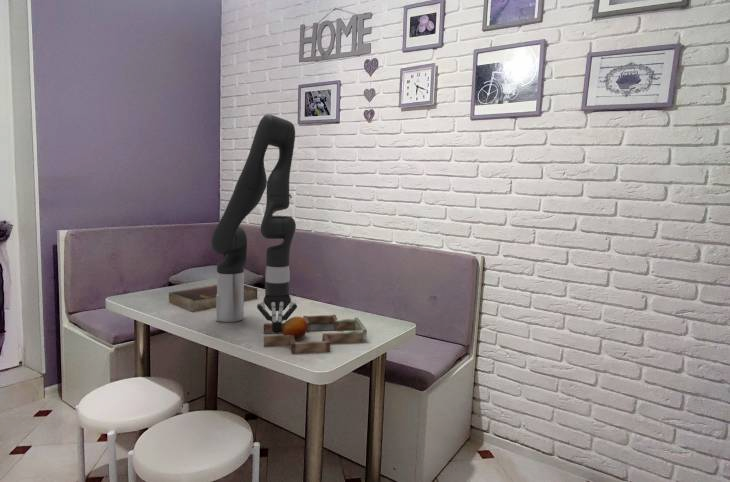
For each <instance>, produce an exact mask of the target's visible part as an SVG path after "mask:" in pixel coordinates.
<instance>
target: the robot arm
mask: <svg viewBox="0 0 730 482" xmlns="http://www.w3.org/2000/svg"><path fill="white" fill-rule="evenodd" d="M295 127H296V126H295V125H294V124H293V122H291V121H289V120H288V119H285V118H281V117H279V116H276V115H274V114H269V113H267V114H264V115H263V116H262V118H261V119H260V120H259V123H258V125H257V127H256V131H255V134H254V137H253V140H252V143H251V146H250V148H249V149H250V150H249V153H248V156H247V158H246V160H245V162H244V165H243V168H242V171H241V172H240V175H239V177H238V179H237V182H236V184H235V186H234V190H233V192H232V195H231V197H230V199H229V200H228V201H229V202H228V203H227V205H226V208H225V211H224V212H223V215H221V218H220V220H219V222H218V223H217V225H216V228H214V231H213V233H212V237H211V247H212V249H213V251H214V252H215V253H217V254H219V255H225V256H224V257H223V259H222V260H221V261H220V262H218V263H217V264H216V285H217V295H216V308H215V312H216V320H215V321H216V322H223V323H233V322H234V323H235V322H238V321H241V320H243V319H244V317H245V316H244V315H245V308H244V307H245V301H244V285H245V281H244V280H245V277H244V275H245V266H246V264H247V263H246V262H247V253H248V251H247V250H248V239H247V234H246V232H245V230H244V229H243V228H242V227H240V224H242V222H243V221H244V219H245V218H247V216H248V215H250V213H252V212H253V210H254V209H255V208H256V207H257V206H258V205H259V203H260V202H261V199H262V197H263V195H264V192H265V191H266V206H265V211H264V214H263V218H262V220H261V221H262V222H261V224H260V233H261V235H262V237H263V238H265V239H268V240H269V239H271V240H272V239H273V240H280V239H281V240H282V242H281V243H280V244H276V245H272V246H269V247H267V249H266V255H265V256H266V257H265V258H266V262H265V263H266V264H265V265H266V267H265V276H264V278H265V279H264V280H265V285H264V286H265V287H264V291H265V292H264V293H265V295H264V297H263V301H261V302H260V303H258V304H257V305H256V308H257V311H259V312H260V314H261V315H262V316H263V317H264V318H265V319H266V321H269V322H271V323H272V331H273V332H274V333H273V334H280V333H279V332H281V323H283V321H287V320H289V319H290V317H291V315H292V314H293V313H294V312H295V311H296V309H297V308H298V304H297V303H296V302H294V301H292V299H291V296H290V287H291V286H290V285H291V283H290V281H291V280H290V279H291V274H290V273H291V272H290V251H291V246H292V242H293V238H294V235H295V233H296V227H297V225H296V224H297V223H296V221H295V219H294V218H293V217H292V216H290V215H288V216H287V215H285V216H284V215H280V216H279V215H274V213H276V212H279V211H284V210H287V209H289V207H290V175H291V169H292V168H291V167H292V163H293V155H294V148H295V141H296V128H295ZM269 146H271V147H276V148H278V160H277V163H276V164H275V166H274V167H273V169H272V171H271V172H270V174H269V176H268V178H267V173H266V168H265V156H266V152H267V150H268V147H269ZM266 307H267V308H268V310H269V311H270V312H271V314H270V313H269V312H268V311H267V310H266ZM288 307H289V308H288ZM286 308H288V309H287V310H286ZM285 310H286V312H285V313H284V314H283V312H284V311H285Z"/></svg>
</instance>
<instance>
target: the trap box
mask: <svg viewBox="0 0 730 482" xmlns="http://www.w3.org/2000/svg"><path fill="white" fill-rule="evenodd" d="M302 318H303V319H304V320H305V321H306V323H307V331H306V333H307V332H310V333H311V332H325V333H322V337H321V339H322V340H321V341H307V342H306V341H304V342H303V341H302V342H300V341H298V342H296V340H295V339H294V335H283V329H282V328H283V325H284V323H285V322H282V323H281V332H279V333H278V334H277V335H263V347H264V348H265V347H266V348H267V347H268V348H269V347H284V346H285V347H287V346H289V349H290V354H291V355H298V354H299V355H301V354H321V353H331V345H333V344H335V345H336V344H352V343H354V344H355V343H367V337H368V336H367V335H368V333H367V331H368V330H367V328H366V327H365V325H364V324H363V323H362V322H361V319H360V318H359V317H354V318H345V319H344V318H342V319H341V318H340V319H339V318H338V317H337V315H336V314H327V315H325V314H323V315H322V314H320V315H303V317H302ZM262 330H263V334H274V332H273V331H272V322H271V323H269V322H268V323H263V329H262ZM333 331H334V332H333ZM336 331H342V332H336ZM326 332H328V333H326ZM281 333H282V335H281Z"/></svg>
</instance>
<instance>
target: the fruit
mask: <svg viewBox="0 0 730 482" xmlns="http://www.w3.org/2000/svg"><path fill="white" fill-rule="evenodd" d="M284 321H285V322H283V323H284V325H283V328H282V329H283V333H282V335H294V339H295V341H296V340H297V341H298V340H302V341H303V339H304V336H305V337H306V336H307V335H306V333H307V332H306V331H307V323H306V321H305V320H304V319H303V317H302V316H293V317H291V318H290V317H289V318H288V319H287V320H284Z"/></svg>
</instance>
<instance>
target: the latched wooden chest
mask: <svg viewBox="0 0 730 482" xmlns="http://www.w3.org/2000/svg"><path fill="white" fill-rule="evenodd" d="M216 295H217V284H211V285H206V286H201V287H200V286H198V287H194V288H187V289H182V290H176V291H169V292H168V303H169V302H170V304H172V303H173V304H172V305H174V304H175V305H174V306H177V305H178V306H177V307H179V306H180V308H182V309H184V308H185V309H184V310H187V311H189V310H190V312H192V311H193V312H192V313H196V311H197V312H200V311H201V310H202V311H206V310H210V309H216ZM257 299H258V288H257V287H253V286H249V285H245V284H244V302H249V301H253V300H257Z"/></svg>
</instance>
